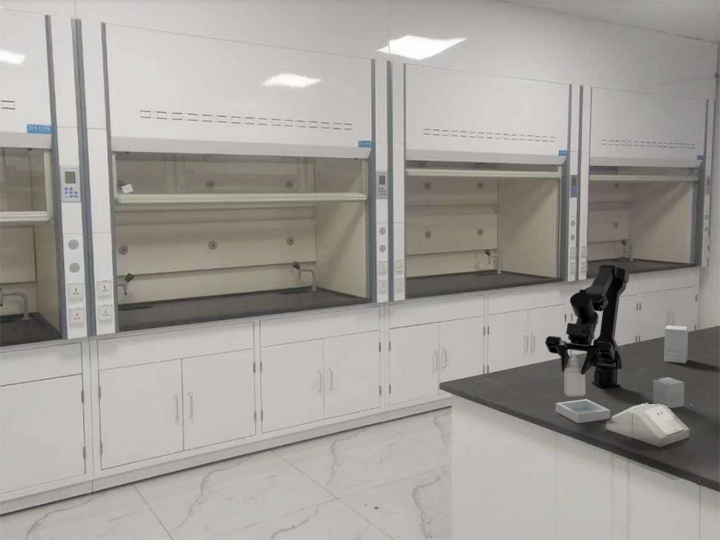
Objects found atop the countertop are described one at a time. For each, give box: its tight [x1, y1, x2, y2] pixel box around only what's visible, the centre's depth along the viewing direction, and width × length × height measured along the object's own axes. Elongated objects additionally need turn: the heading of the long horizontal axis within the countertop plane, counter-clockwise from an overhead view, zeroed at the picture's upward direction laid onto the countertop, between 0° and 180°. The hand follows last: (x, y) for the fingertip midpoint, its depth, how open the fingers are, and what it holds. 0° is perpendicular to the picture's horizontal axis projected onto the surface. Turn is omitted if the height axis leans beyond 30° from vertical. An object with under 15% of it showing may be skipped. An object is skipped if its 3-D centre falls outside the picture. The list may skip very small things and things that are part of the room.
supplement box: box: [663, 324, 689, 364], centre depth 237 cm, size 7×7×13 cm
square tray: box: [555, 398, 611, 424], centre depth 181 cm, size 10×10×2 cm
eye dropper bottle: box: [563, 353, 587, 397], centre depth 182 cm, size 4×6×12 cm
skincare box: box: [652, 377, 685, 409], centre depth 188 cm, size 6×6×7 cm
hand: (572, 372), depth 181 cm, fingers closed on eye dropper bottle, 5 cm apart
